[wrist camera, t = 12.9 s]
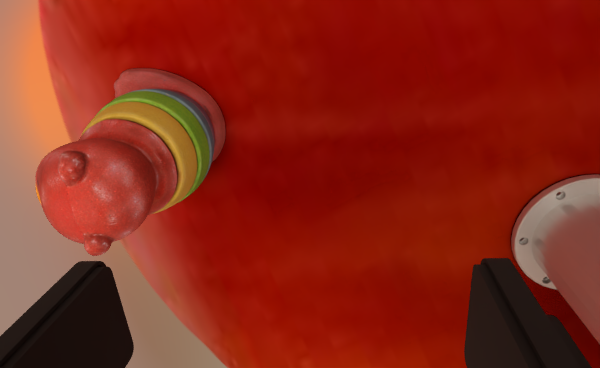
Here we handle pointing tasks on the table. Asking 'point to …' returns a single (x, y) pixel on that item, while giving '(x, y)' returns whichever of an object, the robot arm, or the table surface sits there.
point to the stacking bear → (131, 158)
